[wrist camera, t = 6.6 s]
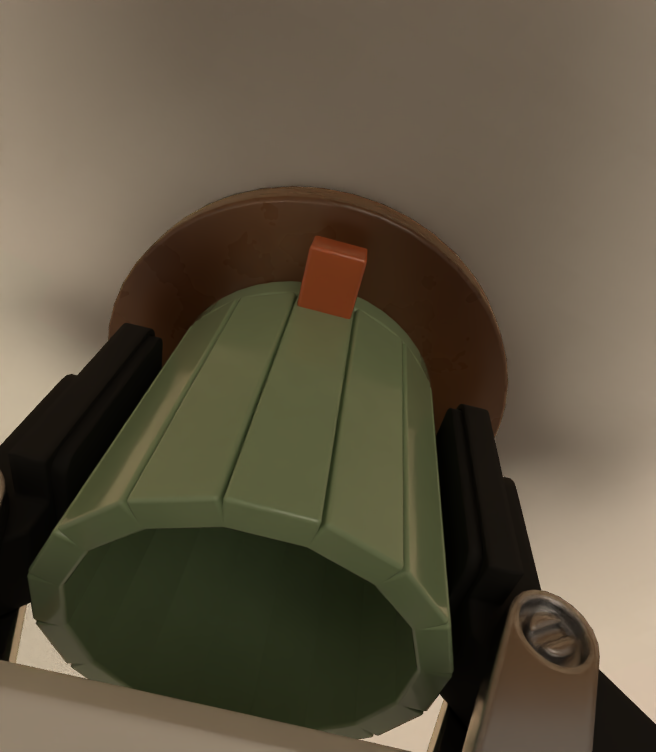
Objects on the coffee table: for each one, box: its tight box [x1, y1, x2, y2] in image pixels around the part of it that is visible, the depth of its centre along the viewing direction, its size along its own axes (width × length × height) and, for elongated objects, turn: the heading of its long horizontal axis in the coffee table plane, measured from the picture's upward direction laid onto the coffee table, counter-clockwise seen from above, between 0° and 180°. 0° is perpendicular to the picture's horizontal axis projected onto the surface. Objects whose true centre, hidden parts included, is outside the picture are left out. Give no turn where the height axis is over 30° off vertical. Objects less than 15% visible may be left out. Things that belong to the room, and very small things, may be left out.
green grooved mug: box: [27, 236, 454, 739], centre depth 9 cm, size 6×7×6 cm
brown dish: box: [108, 186, 508, 438], centre depth 12 cm, size 9×9×1 cm
